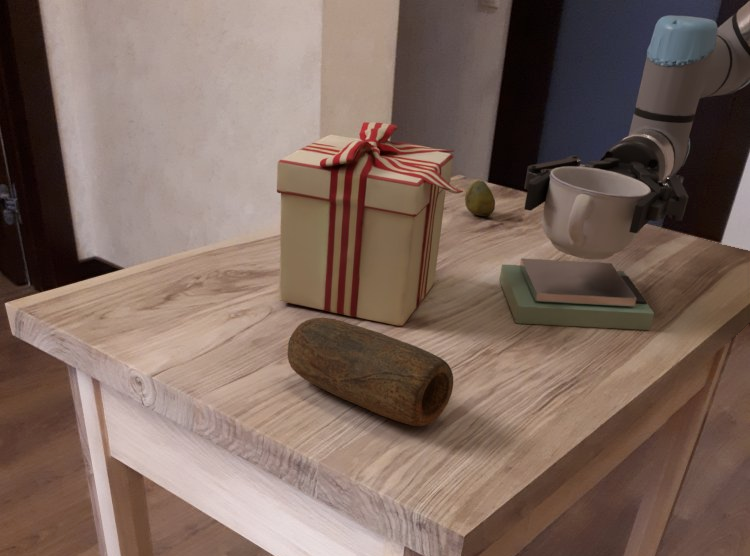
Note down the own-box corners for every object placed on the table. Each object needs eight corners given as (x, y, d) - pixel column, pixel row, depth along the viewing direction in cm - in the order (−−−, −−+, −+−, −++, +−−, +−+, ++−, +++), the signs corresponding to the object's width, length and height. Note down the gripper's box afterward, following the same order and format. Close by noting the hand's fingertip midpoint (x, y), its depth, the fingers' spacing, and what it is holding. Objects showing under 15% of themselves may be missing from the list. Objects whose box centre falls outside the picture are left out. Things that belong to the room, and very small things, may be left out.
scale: (619, 286, 98) (624, 268, 97) (650, 330, 88) (655, 310, 86) (499, 280, 98) (502, 261, 96) (515, 323, 87) (519, 303, 86)
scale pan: (609, 271, 96) (611, 263, 95) (634, 307, 87) (637, 298, 86) (519, 266, 95) (521, 258, 95) (535, 301, 87) (537, 292, 86)
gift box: (441, 334, 83) (461, 161, 73) (273, 309, 86) (271, 139, 76) (462, 279, 97) (482, 126, 87) (317, 258, 100) (319, 108, 90)
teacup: (562, 229, 96) (575, 159, 92) (647, 251, 91) (666, 178, 87) (506, 257, 87) (518, 181, 82) (598, 283, 82) (617, 204, 77)
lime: (467, 209, 121) (471, 175, 118) (498, 214, 120) (503, 180, 117) (458, 216, 118) (462, 181, 115) (489, 222, 117) (494, 186, 114)
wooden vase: (458, 414, 70) (468, 344, 66) (415, 446, 65) (423, 373, 61) (324, 362, 77) (326, 296, 73) (276, 388, 72) (275, 318, 68)
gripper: (721, 218, 97) (683, 268, 81) (541, 181, 105) (474, 221, 89) (742, 152, 92) (706, 192, 76) (552, 120, 101) (484, 150, 85)
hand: (581, 208), depth 83 cm, fingers closed on teacup, 11 cm apart
